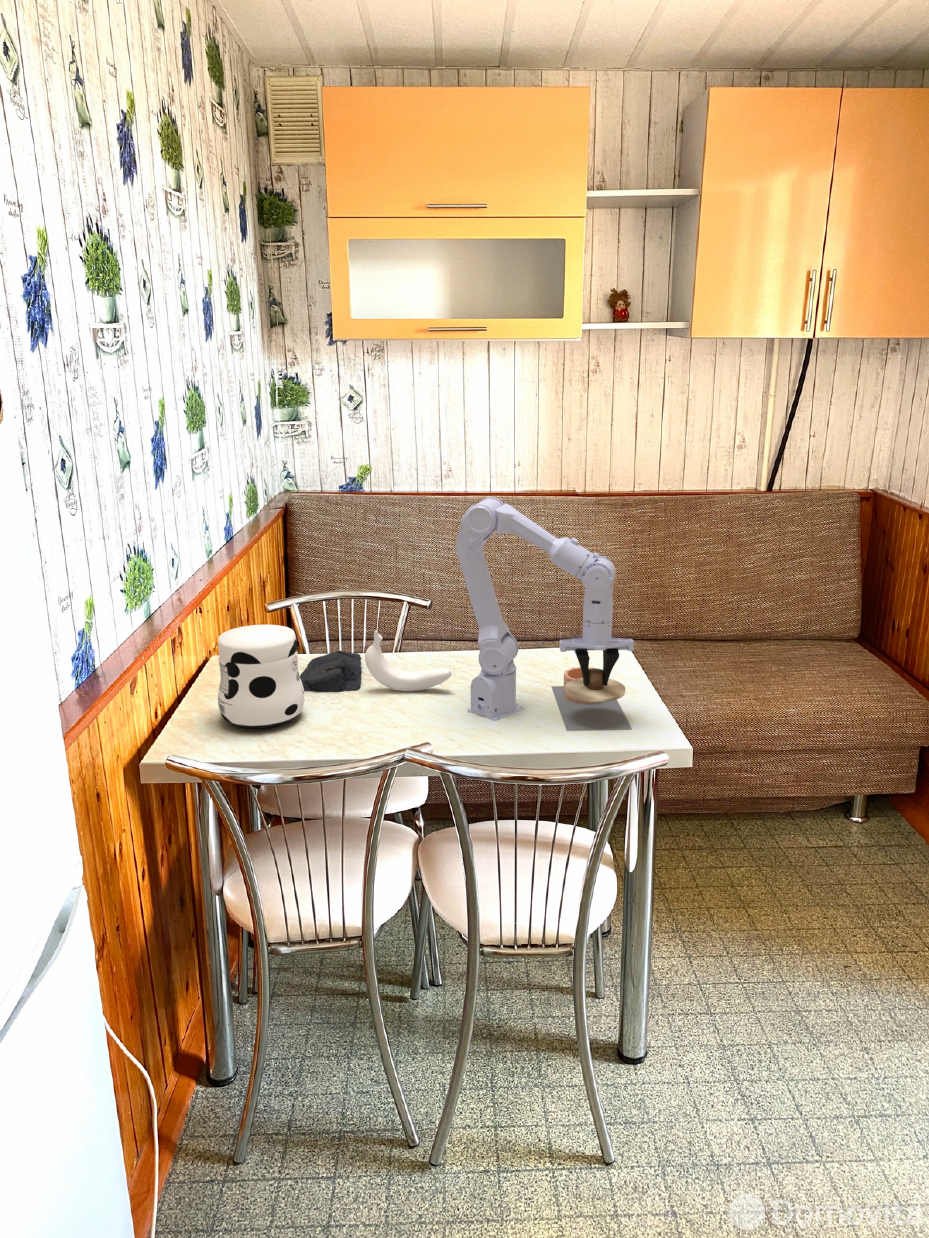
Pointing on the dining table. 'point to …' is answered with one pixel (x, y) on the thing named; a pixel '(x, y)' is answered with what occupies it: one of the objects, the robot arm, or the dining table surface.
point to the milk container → (259, 676)
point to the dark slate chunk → (333, 673)
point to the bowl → (569, 676)
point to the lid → (595, 688)
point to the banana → (400, 672)
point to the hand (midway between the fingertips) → (595, 684)
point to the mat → (590, 714)
